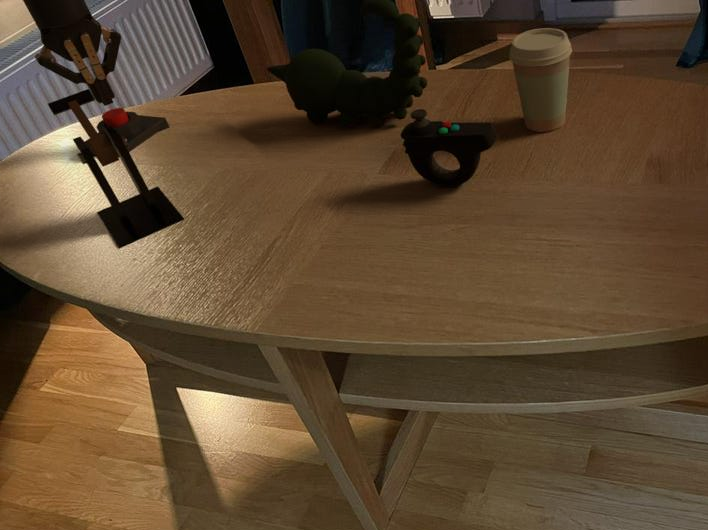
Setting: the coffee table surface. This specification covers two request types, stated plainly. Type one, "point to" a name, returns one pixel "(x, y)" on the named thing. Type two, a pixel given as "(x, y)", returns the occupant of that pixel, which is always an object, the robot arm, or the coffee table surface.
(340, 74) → the toy figurine
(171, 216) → the bracket
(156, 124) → the button block
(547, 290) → the coffee table surface
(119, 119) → the button
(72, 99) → the lever
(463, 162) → the controller
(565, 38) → the coffee cup
